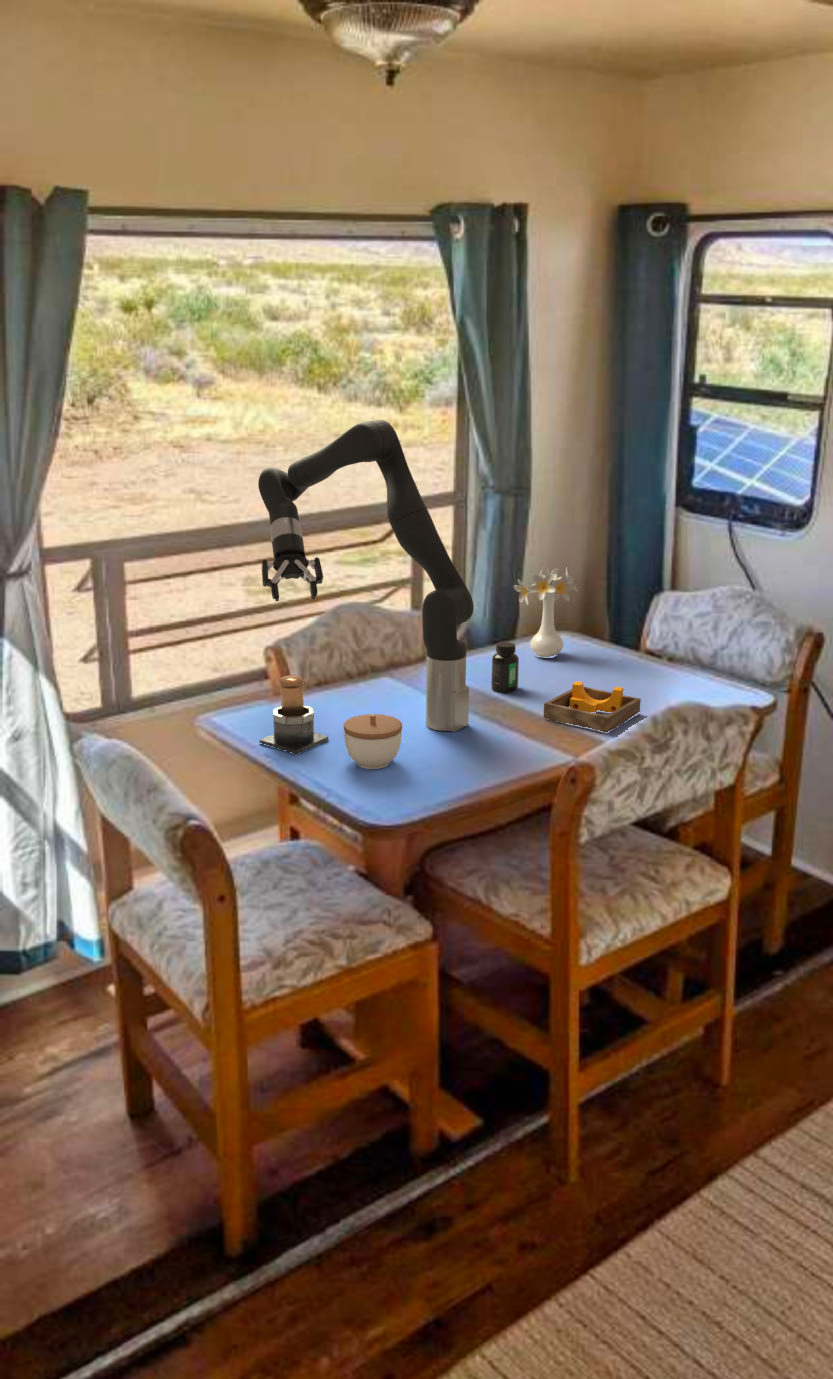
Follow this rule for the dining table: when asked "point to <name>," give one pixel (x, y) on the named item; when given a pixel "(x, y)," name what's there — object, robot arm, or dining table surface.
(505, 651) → the supplement bottle
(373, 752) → the lidded bowl
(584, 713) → the hardware corral
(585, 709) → the pipe clamp
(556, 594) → the flower vase
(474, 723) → the dining table surface
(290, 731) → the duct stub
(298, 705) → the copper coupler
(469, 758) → the dining table surface
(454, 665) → the robot arm
